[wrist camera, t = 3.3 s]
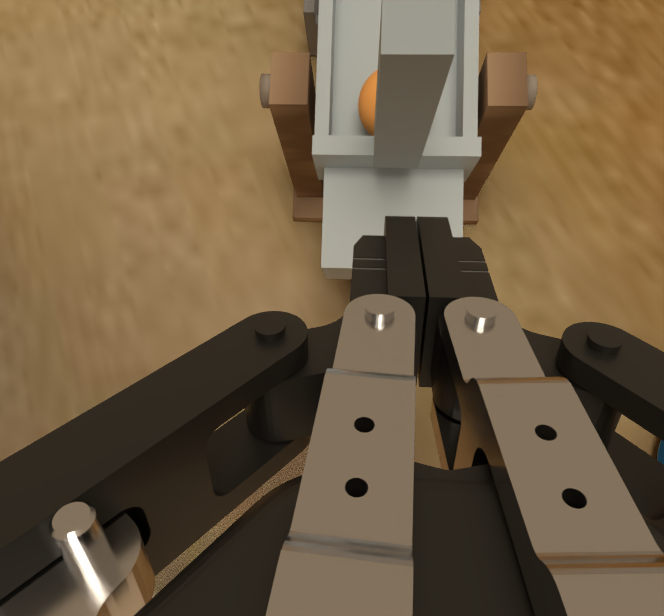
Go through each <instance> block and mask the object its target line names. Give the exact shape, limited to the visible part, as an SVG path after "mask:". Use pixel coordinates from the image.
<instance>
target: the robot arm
mask: <svg viewBox="0 0 664 616" xmlns="http://www.w3.org/2000/svg"><path fill="white" fill-rule="evenodd" d="M417 374H418V379H419V387H432V392H433V399H432V406H431V413H430V414H431V421H432V425H433V430H434V435H435V439H436V444H437V449H438V454H439V458H440V463H441V468H442V469H439V468H435V467H431V466H427V465H424V464H420V463H416V462H414V441H415V396H416V383H417ZM244 408H245V410H244V411H242V412H241V413H240V414H238V415H237V416H235V417H234V418H233V419H231V420H230V421H229V422H227V423H226V424H224V425H223V426H222V427H220V428H219V429H217V428H218V427H219V426H220V425H221V424H223V423H224V422H226V421H227V420H228V419H230V418H231V417H233V416H234V415H235V414H237V413H238V412H240V411H241V410H242V409H244ZM622 414H623V415H624V416H626V417H627V418H629V419H630V420H632V421H634V422H635V423H637V424H638V425H640V426H641V427H643V428H644V429H646V430H647V431H649V432H650V433H652V434H653V435H655V436H657V437H658V438H660V439H661V440H663V441H664V352H662V351H661V350H659V349H657V348H655V347H653V346H651V345H649V344H648V343H646V342H644V341H642V340H640V339H638V338H636V337H635V336H633V335H631V334H629V333H627V332H625V331H623V330H621V329H619V328H616V327H614V326H611V325H607V324H603V323H596V322H582V323H577V324H573V325H571V326H569V327H568V328H566V330H565V331H564V333H563V335H562V339H558V338H553V337H549V336H545V335H541V334H537V333H533V332H530V331H527V330H525V329H523V328H521V325H520V323H519V321H518V319H517V317H516V315H515V314H514V312H513V311H512V310H511V309H510V308H508V307H507V306H505V305H504V304H502V303H500V302H498V299H497V296H496V293H495V290H494V286H493V283H492V280H491V277H490V274H489V273H488V268H487V265H486V263H485V259H484V256H483V253H482V249H481V248H480V247H479V246H478V245H477V244H476V243H475V242H473V241H472V240H471V239H470V238H469V237H453V236H452V232H451V228H450V224H449V220H448V217H421V216H417V218H416V219H415V216H385V222H384V236H379V235H363V236H362V237H361V238H360V239H359V240H358V241H357V242H356V243H355V244H354V248H353V263H352V278H351V293H350V303H349V304H348V305H347V307H346V308H345V311H344V316H343V317H342V318H340V319H339V320H337V321H335V322H333V323H331V324H328V325H325V326H321V327H316V328H311V329H307V327H306V325H305V323H304V322H303V321H302V320H301V319H300V318H299V317H297V316H295V315H293V314H290V313H286V312H281V311H268V312H261V313H257V314H254V315H252V316H249V317H247V318H246V319H244V320H242V321H240V322H239V323H237V324H235V325H234V326H232V327H230V328H228V329H227V330H225V331H223V332H222V333H220V334H218V335H216V336H215V337H213V338H211V339H210V340H208V341H206V342H205V343H203V344H201V345H199V346H198V347H196V348H194V349H193V350H191V351H189V352H187V353H186V354H184V355H182V356H181V357H179V358H177V359H175V360H174V361H172V362H170V363H169V364H167V365H165V366H163V367H162V368H160V369H158V370H157V371H155V372H153V373H151V374H150V375H148V376H146V377H145V378H143V379H141V380H139V381H138V382H136V383H134V384H133V385H131V386H129V387H128V388H126V389H124V390H122V391H121V392H119V393H117V394H116V395H114V396H112V397H110V398H109V399H107V400H105V401H104V402H102V403H100V404H98V405H97V406H95V407H93V408H92V409H90V410H88V411H86V412H85V413H83V414H81V415H80V416H78V417H76V418H74V419H73V420H71V421H69V422H68V423H66V424H64V425H62V426H61V427H59V428H57V429H56V430H54V431H52V432H51V433H49V434H47V435H45V436H44V437H42V438H40V439H39V440H37V441H35V442H33V443H32V444H30V445H28V446H27V447H25V448H23V449H21V450H20V451H18V452H16V453H15V454H13V455H11V456H9V457H8V458H6V459H4V460H3V461H1V462H0V616H664V465H663V464H662V463H660V462H659V461H657V460H656V459H654V458H653V457H651V456H650V455H649V454H647V453H646V452H644V451H643V450H641V449H640V448H638V447H637V446H635V445H634V444H632V443H631V442H630V441H628V440H627V439H625V438H624V437H622V436H621V435H619V434H618V433H616V432H615V429H616V426H617V424H618V422H619V419H620V417H621V415H622ZM216 429H217V430H216ZM214 430H216V431H215V432H214ZM309 442H310V444H309ZM308 444H309V448H308V453H307V457H306V462H305V466H304V471H303V475H301V476H299V477H296V478H294V479H291V480H289V481H287V482H285V483H283V484H281V485H280V486H278V487H276V488H274V489H273V490H271V491H270V492H269V493H267V494H266V495H264V496H263V497H262V498H261V499H260V500H258V501H257V502H256V503H255V504H254V505H253V506H252V507H251V508H250V509H248V510H247V511H246V512H245V513H244V514H243V515H242V516H241V517H240V518H239V519H238V520H237V521H235V522H234V523H233V524H232V525H231V526H230V527H229V528H228V529H227V530H226V531H225V532H224V533H222V534H221V535H220V536H219V537H218V538H217V539H216V540H215V541H214V542H213V543H212V544H211V545H209V546H208V547H207V548H206V549H205V550H204V551H203V552H202V553H201V554H200V555H199V556H198V557H196V558H195V559H194V560H193V561H192V562H191V563H190V564H189V565H188V566H187V567H186V568H185V569H184V570H182V571H181V572H180V573H179V574H178V575H177V576H176V577H175V578H174V579H173V580H172V581H171V582H169V583H168V584H167V585H166V586H165V587H164V588H163V589H162V590H161V591H160V592H159V593H158V594H156V595H155V596H154V597H153V598H152V596H153V593H154V588H155V576H156V575H157V574H158V573H159V572H160V571H161V570H163V569H164V568H165V567H166V566H167V565H169V564H170V563H171V562H172V561H173V560H174V559H176V558H177V557H178V556H179V555H180V554H182V553H183V552H184V551H185V550H186V549H187V548H189V547H190V546H191V545H192V544H193V543H194V542H196V541H197V540H198V539H199V538H200V537H202V536H203V535H204V534H205V533H206V532H207V531H209V530H210V529H211V528H212V527H213V526H215V525H216V524H217V523H218V522H219V521H220V520H222V519H223V518H224V517H225V516H226V515H228V514H229V513H230V512H231V511H232V510H233V509H235V508H236V507H237V506H238V505H239V504H241V503H242V502H243V501H244V500H245V499H246V498H248V497H249V496H250V495H251V494H252V493H253V492H255V491H256V490H257V489H258V488H259V487H261V486H262V485H263V484H264V483H265V482H266V481H268V480H269V479H270V478H271V477H272V476H274V475H275V474H276V473H277V472H278V471H279V470H281V469H282V468H283V467H284V466H285V465H287V464H288V463H289V462H290V461H291V460H292V459H294V458H295V457H296V456H297V455H298V454H299V453H301V452H302V451H303V450H304V449H305V448H306V447H307V445H308Z"/></svg>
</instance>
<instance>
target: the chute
mask: <svg viewBox="0 0 664 616" xmlns="http://www.w3.org/2000/svg"><path fill="white" fill-rule="evenodd" d="M478 61H479V0H319V15H318V45H317V74H316V104H315V134H314V135H313V136H312V157H313V161H314V165H315V168H316V172H317V176H318V180H324V192H323V223H322V254H321V268H322V270H323V272H324V274H325V276H326V278H327V279H351V278H352V263H353V248H354V244H355V243H356V242H357V241H358V240H359V239H360V238H361V237H362V236H363V235H379V236H384V222H385V216H415V219H416V218H417V216H421V217H448V220H449V224H450V228H451V232H452V236H453V237H463V184H464V182H465V181H466V180H467V178H468V177H469V175H470V173H471V172H472V170H473V169H474V167H475V166H476V164H477V162H478V161H479V159H480V158H481V143H482V137H477V134H478ZM376 70H377V87H376V104H375V121H374V136H371V135H370V134H369V133H368V132H367V130H366V129H365V127H364V126H363V124H362V122H361V119H360V116H359V111H358V100H359V95H360V91H361V89H362V87H363V85H364V83H365V81H366V80H367V79H368V77H369V76H370V75H371V74H372V73H374V72H375V71H376Z"/></svg>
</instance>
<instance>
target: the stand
mask: <svg viewBox="0 0 664 616" xmlns="http://www.w3.org/2000/svg"><path fill="white" fill-rule="evenodd" d="M536 95H537V77H536V75H527V52H487V54H486V57H485V60H484V63H483V65H482V68H481V71H480V74H479V76H478V134H477V137H482V143H481V158H480V159H479V161H478V162H477V164H476V166H475V167H474V169H473V170H472V172H471V173H470V175H469V177H468V178H467V180H466V181H465V182H464V184H463V224H477V222H478V193H479V192H480V190H481V188H482V186H483V185H484V183H485V181H486V179H487V177H488V176H489V174H490V172H491V170H492V169H493V167H494V165H495V163H496V162H497V160H498V158H499V156H500V154H501V153H502V151H503V149H504V147H505V146H506V144H507V142H508V140H509V139H510V137H511V135H512V133H513V132H514V130H515V128H516V126H517V124H518V123H519V121H520V119H521V117H522V116H523V114H524V112H525V110H531V109H532V108H533V106H534V103H535V100H536ZM260 100H261V105H262V108H270V110H271V113H272V116H273V120H274V123H275V126H276V130H277V133H278V136H279V140H280V143H281V146H282V149H283V153H284V156H285V159H286V163H287V166H288V169H289V172H290V176H291V179H292V182H293V186H294V200H293V220H294V221H323V192H324V180H318V176H317V172H316V168H315V165H314V161H313V157H312V136H313V135H314V134H315V104H316V94H315V87H314V80H313V73H312V66H311V59H310V52H272V59H271V74H261V77H260Z"/></svg>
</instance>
